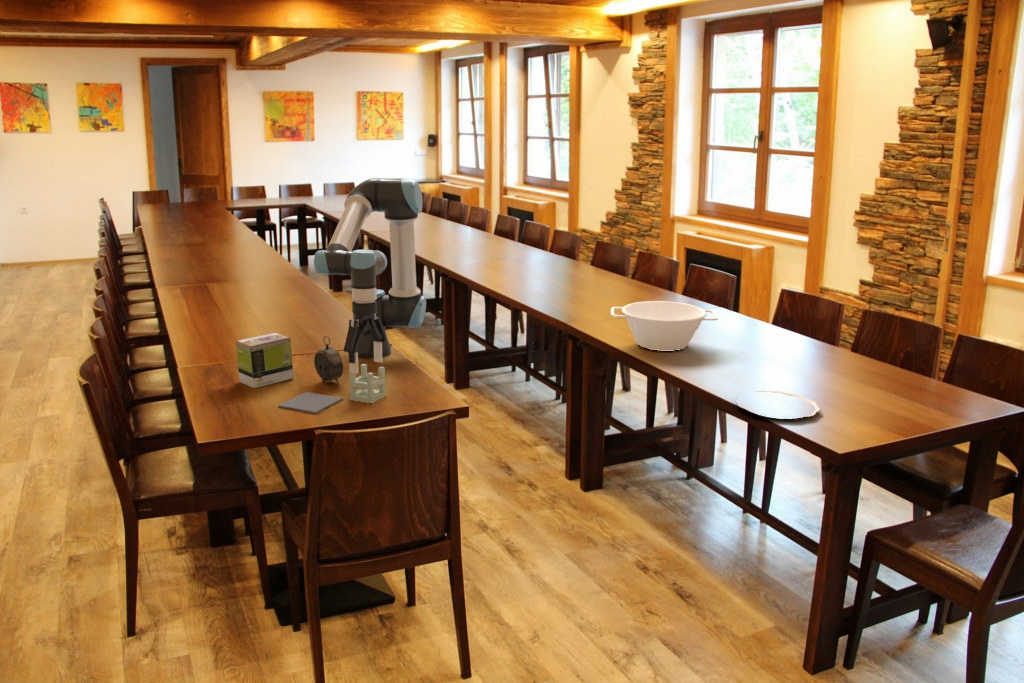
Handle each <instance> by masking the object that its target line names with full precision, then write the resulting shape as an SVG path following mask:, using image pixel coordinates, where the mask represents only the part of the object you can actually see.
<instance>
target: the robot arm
mask: <svg viewBox="0 0 1024 683" xmlns="http://www.w3.org/2000/svg"><path fill="white" fill-rule="evenodd" d="M422 193H423V192H422V188H421V186H420V184H419V182H418V181H417V180H415V179H411V178H404V177H403V178H402V177H399V178H398V177H394V178H393V177H391V178H389V177H387V178H385V177H383V178H382V177H373V178H368V179H366V180H364V181H361V182H360V183H358V184H357V185H355V187H354V188H352V190H351V191H350V192H349V193H348V195H347V196H346V198H345V201H344V204H343V205H344V206H343V207H344V210H343V212H342V214H341V217H340V220H339V221H338V223H337V225H336V228H335V230H334V233H333V234H332V236H331V239H330V241H329V243H328V246H327V247H326V249H322V250H317V251H316V252H315V253H314V256H313V267H314V270H315V272H316V273H318V274H322V275H328V276H329V275H334V276H335V275H336V276H350V280H351V300H352V302H351V309H352V311H351V312H352V319H349V320H348V330H347V333H346V337H345V343H344V346H343V352H345V353H348V364H349V370H350V372H351V373H355V374H359V358H361V359H373V362H376V363H383V358H384V357H385V356H389V355H390V354H391V353H392V348H391V347H392V346H391V344H390V341H389V338H388V335H387V332H386V327H388V328H389V327H390V328H392V327H393V328H407V329H410V328H412V329H413V328H419V327H421V326H422V324H423V322H424V319H425V315H426V310H427V298H426V296H425V295H422V291H421V288H419V287H418V286H417V270H416V268H417V267H416V246H415V243H416V242H415V240H416V239H415V221H416V220H417V219H418V216H419V214H421V213H422V210H423V201H424V200H423V194H422ZM375 212H379V213H384V219H385V221H387V222H388V223H389V224H388V225H389V226H388V227H389V239H390V240H389V241H390V242H389V243H390V262H391V263H390V264H391V279H392V280H391V282H392V283H391V284H392V287H391V288H390V289H389V290H388V294H386V292H385V290H384V289H377V276H378V275H381V274H382V273H383V272H384V271H385V269H386V268H387V265H388V259H387V256H386V255H385V253H383V252H382V251H380V250H377V249H376V250H375V249H374V250H373V249H356V250H353V248H354V246H355V244H356V241H357V239H358V237H359V235H360V231H361V230H362V227H363V225H364V222H365V221H366V218H368V217H370V216H371V214H372V213H375Z"/></svg>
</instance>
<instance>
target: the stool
mask: <svg viewBox="0 0 1024 683" xmlns="http://www.w3.org/2000/svg"><path fill="white" fill-rule="evenodd" d="M385 375H386V371H385V367H384V366H380V367H378V376H375V375H374V372H371V371H370V372H368V364H367V363H366V364H365V363H362V364H360V375H359V376H356V373H351V372H350V369H349V370H348V377H349V378H348V382H349V400H350V401H352V400H354V402H358V401H360V402H359V403H364V402H366V403H365V404H369V403H372V404H374V403H376V402H377V400H378V401H380V400H382V399H383V398H385V397H386V376H385ZM357 388H359V389H357ZM375 388H378V389H375ZM384 396H385V397H384ZM379 399H380V400H379ZM375 401H376V402H375ZM373 402H374V403H373Z"/></svg>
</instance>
